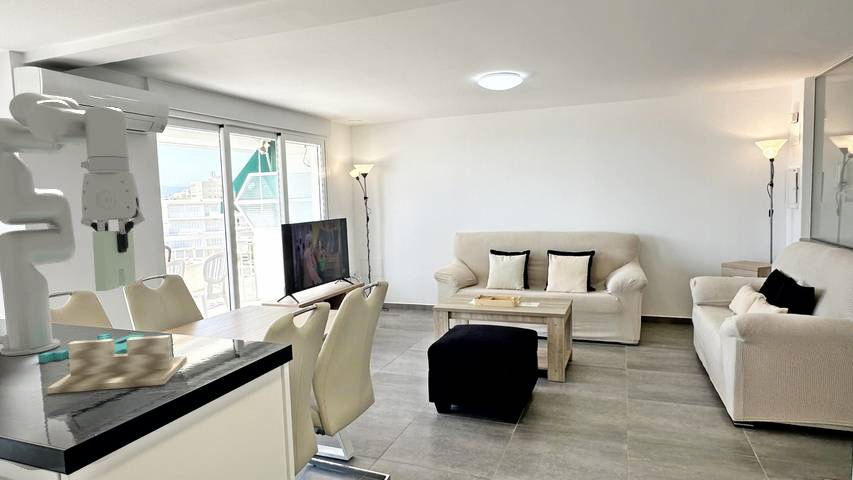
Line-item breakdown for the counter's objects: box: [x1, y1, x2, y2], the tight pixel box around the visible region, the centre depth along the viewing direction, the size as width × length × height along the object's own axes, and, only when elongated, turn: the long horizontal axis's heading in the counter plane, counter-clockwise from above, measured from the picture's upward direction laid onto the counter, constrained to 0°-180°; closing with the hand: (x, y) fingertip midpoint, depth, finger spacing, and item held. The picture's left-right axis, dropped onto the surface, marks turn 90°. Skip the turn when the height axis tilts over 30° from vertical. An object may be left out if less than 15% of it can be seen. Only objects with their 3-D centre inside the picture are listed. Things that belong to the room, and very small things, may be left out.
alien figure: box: [37, 333, 147, 364], centre depth 135 cm, size 20×2×20 cm
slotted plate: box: [91, 230, 137, 292], centre depth 113 cm, size 16×2×12 cm, turn 11°
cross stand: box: [46, 334, 188, 395], centre depth 114 cm, size 22×16×8 cm
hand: (115, 251), depth 113 cm, fingers closed on slotted plate, 2 cm apart
